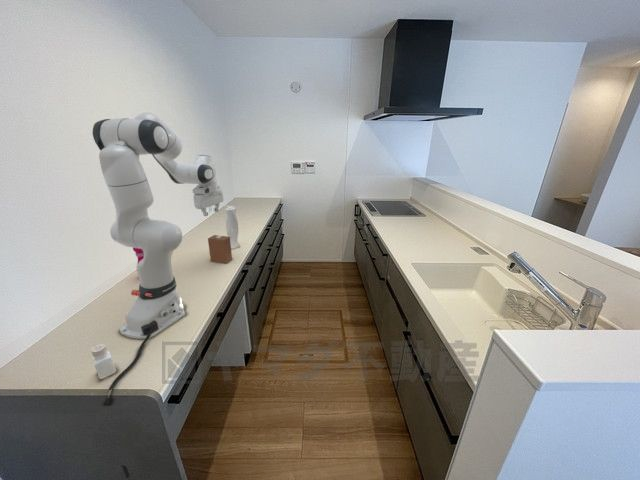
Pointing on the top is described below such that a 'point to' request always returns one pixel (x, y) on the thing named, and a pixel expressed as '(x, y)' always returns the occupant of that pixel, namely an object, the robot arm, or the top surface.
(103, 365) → the pepper shaker
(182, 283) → the top surface
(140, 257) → the pepper mill
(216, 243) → the reddish brown block
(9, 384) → the top surface
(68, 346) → the top surface
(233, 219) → the white baluster column
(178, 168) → the robot arm
